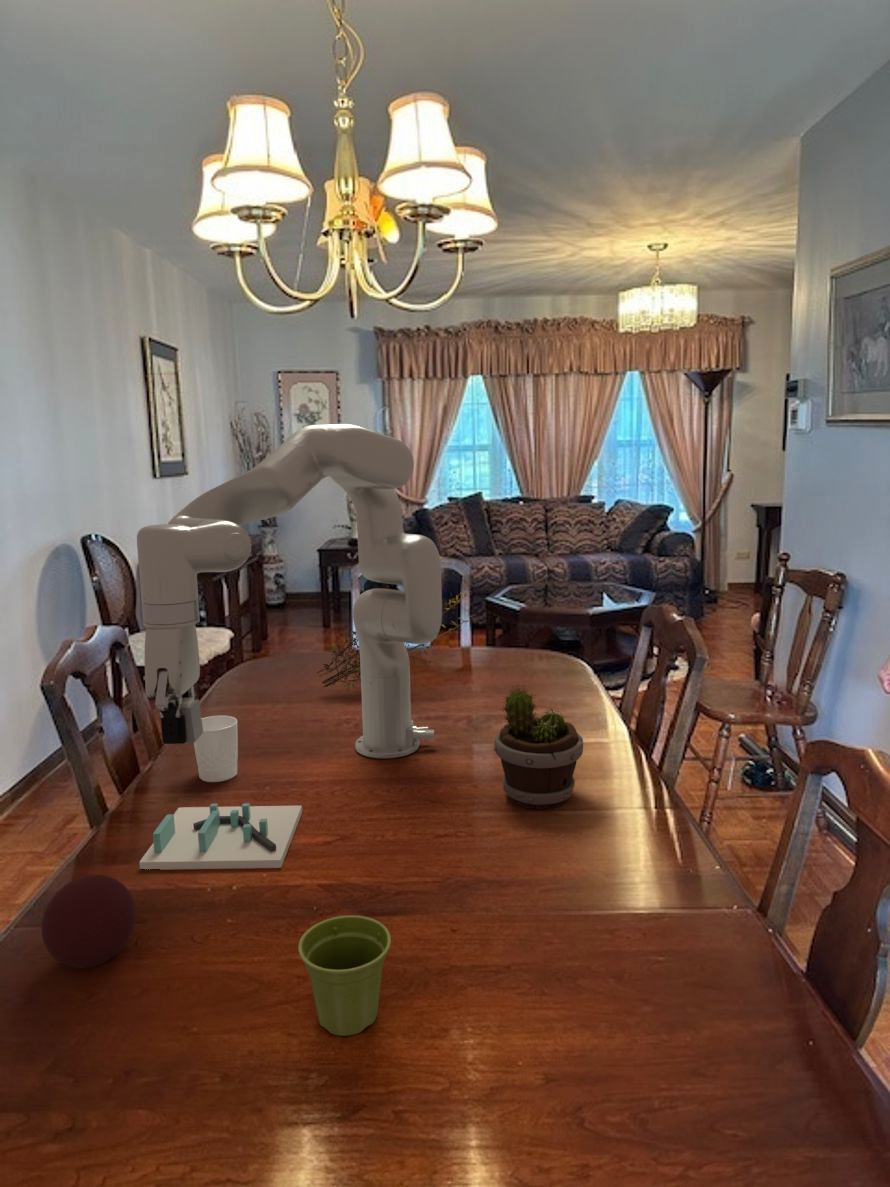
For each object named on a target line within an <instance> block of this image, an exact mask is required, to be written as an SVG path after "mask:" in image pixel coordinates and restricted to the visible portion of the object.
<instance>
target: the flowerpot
mask: <svg viewBox="0 0 890 1187" xmlns="http://www.w3.org/2000/svg"><path fill="white" fill-rule="evenodd" d="M515 682H516V684H517V685H516V686H513V685H511V688H512V689H509V691H508V694H509V695H505V696H504V695H503V696H502V697H503V698H502V700H503V705H502V707H501V709H502V713H503V715H504V716H503V719H505V720H504V722H505V723H506V724H505V725H504V726H503V727H502V728H501V729H500V732H498V733H497V734H496V736H495V739H494V746H493V750H494V752H495V754H496V755H497V757H498V758H500V761H501V766H502V770H503V773H504V775H503V777H502V786H503V787H502V789H503V790H504V792H505V793H506V795H507V796H508V797H509V799H510V801H511V802H513V803H514V804H517V805H518V806H520V807H522V808H525V809H529V808H530V810H532V809H537V810H544V809H546V808H550V809H554V808H557V807H560V806H562V805H565V803H567V801H568V799H569V798H570V797H571V796H572V794H573V791H574V787H575V783H576V781H575V780H576V779H575V778H574V774H575V771H576V770H575V769H576V765H577V761H578V760H579V759H580V758H581V757H582V756H583V753H584V752H583V751H584V740H583V737H582V736H581V735H580V733H578V731H577V729H576V728H575V726H574V725H573V724H572V723H570V722H568V721H565V719H566V717H565V716H563V714H562V713H559V711H558V710H557V711H556V710H554V708H551V707H550V709H549V710H547V712H546V713H545V714H543V715H542V716H541V717H537V715H538V714H537V713H536V711H537V710H538V708H537V707H539V706H540V704H538V705H537V701H536V702H535V700H534V699H535V696H536V694H533V693H532V692H530V694H528V692H529V690H527V685H526V686H525V685H524V686H522V687H520V685H519V683H518V682H517V681H515ZM534 710H536V711H534ZM550 711H551V712H550ZM558 713H559V714H558Z"/></svg>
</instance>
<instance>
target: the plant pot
mask: <svg viewBox="0 0 890 1187" xmlns="http://www.w3.org/2000/svg"><path fill="white" fill-rule="evenodd" d="M391 938H392V936H391V933H390V932H389V930H388V928H387V927H386V926H385V925H384V924H382V923H381V922H380V921H378V920H377V919H374V918H371V917H367V916H362V915H339V916H334V917H330V918H327V919H324V920H321V921H320V922H318V923H316V924H314V925H312V926H311V927H310V928H309V929H307V930H306V931H305V932H304V933H303V934H302V936H301V937H300V938H299V939H300V940H299V942H298V947H297V948H298V954H299V957H300V959H301V961H302V962H303V963H304V966H305V968H306V971H308V975H309V979H310V984H311V989H312V994H313V998H314V1003H315V1009H316V1014H317V1018H318V1023H319V1024H320V1027H323V1028H324V1029H326V1030H327V1031H328V1032H329V1033H330V1034H332V1035H335V1036H346V1037H347V1036H354V1035H357V1034H359V1033H361V1032H363V1031H364V1030H365V1029H366V1028H367V1027H368V1026H370V1025H373V1023H374V1022H375V1021H376V1018H377V1017H378V1010H379V1009H378V1008H379V1002H380V1001H379V1000H380V991H381V983H382V982H381V981H382V976H383V975H382V974H383V966H384V963H385V960H386V957H387V953H388V952H389V951H390V948H391V941H392V939H391Z"/></svg>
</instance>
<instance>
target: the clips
mask: <svg viewBox="0 0 890 1187" xmlns="http://www.w3.org/2000/svg"><path fill="white" fill-rule="evenodd" d="M241 806H242V816H243V817H244V818H245V819H246V820H250V818H251V814H250V806H251V804H250V802H246V803H242V805H241ZM209 807H210V814H217V825H218V828H219V826H220V814H219V811H218V807H219V805H218V803H210V805H209ZM230 817H231V828H237V827H238V826H239V812H238V810H232V811H231V813H230ZM259 829H260V833H261V834H262V835H264V836H265V837H267V835H268V824H267V819H260V821H259ZM243 839H244V842H251V840H252V830H251V824H244V826H243Z"/></svg>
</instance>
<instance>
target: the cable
mask: <svg viewBox="0 0 890 1187" xmlns="http://www.w3.org/2000/svg"><path fill="white" fill-rule="evenodd" d="M205 821H206V819H205V820H202V821H199V822H196V823H193V824H194V829H195V830H196V831H197V830H200V829H201V827H202V826H203V824H204V823H205ZM220 824H231V817H230V816H220ZM239 824H240V825H241V826H242V827H243V826H244V824H250V823H249V822H248V821H247V820H246V819H245V818H244V817H241V816H239ZM251 830H252V838H253V839H255V840H256V841H257V842H259V843H260V844H261V845H263V846H264V847H265V848H266V849H268V850H269V851H270V852H273V851H276V844H275V843H273V842H272V841H270V840H269V839H268V838H266V837H265V836H264V835H262V834H261V833H260V832H258V831H257V830H256V829H255V828H254V827H253V826H252V825H251Z"/></svg>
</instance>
